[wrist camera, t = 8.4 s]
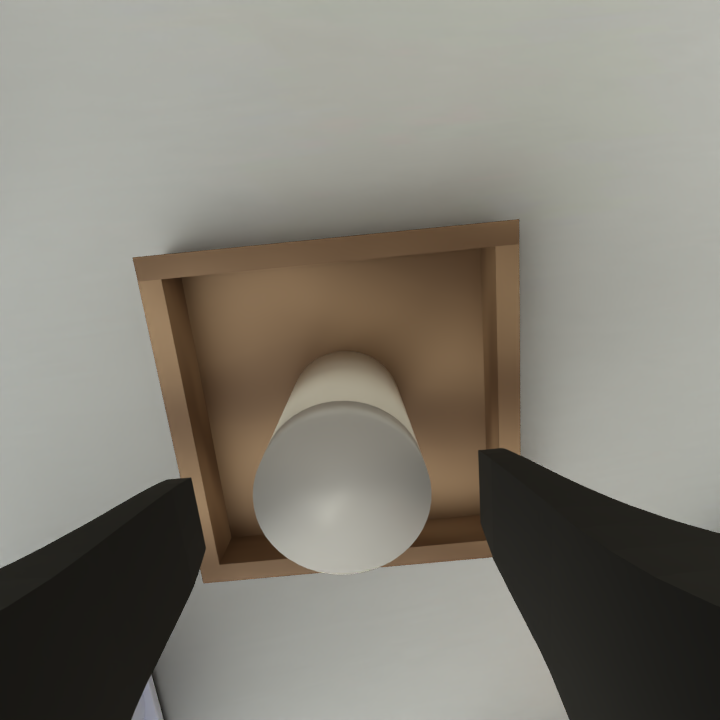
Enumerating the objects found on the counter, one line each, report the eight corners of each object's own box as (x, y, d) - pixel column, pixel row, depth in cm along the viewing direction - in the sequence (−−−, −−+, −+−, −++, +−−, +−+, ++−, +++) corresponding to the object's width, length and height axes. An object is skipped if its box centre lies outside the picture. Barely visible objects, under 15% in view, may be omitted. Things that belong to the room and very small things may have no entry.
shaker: (403, 447, 18) (436, 566, 11) (299, 457, 18) (267, 582, 11) (395, 345, 17) (425, 405, 10) (285, 356, 17) (239, 424, 10)
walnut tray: (502, 521, 19) (520, 554, 17) (220, 547, 19) (203, 583, 17) (497, 224, 16) (519, 219, 14) (162, 257, 16) (132, 257, 14)
